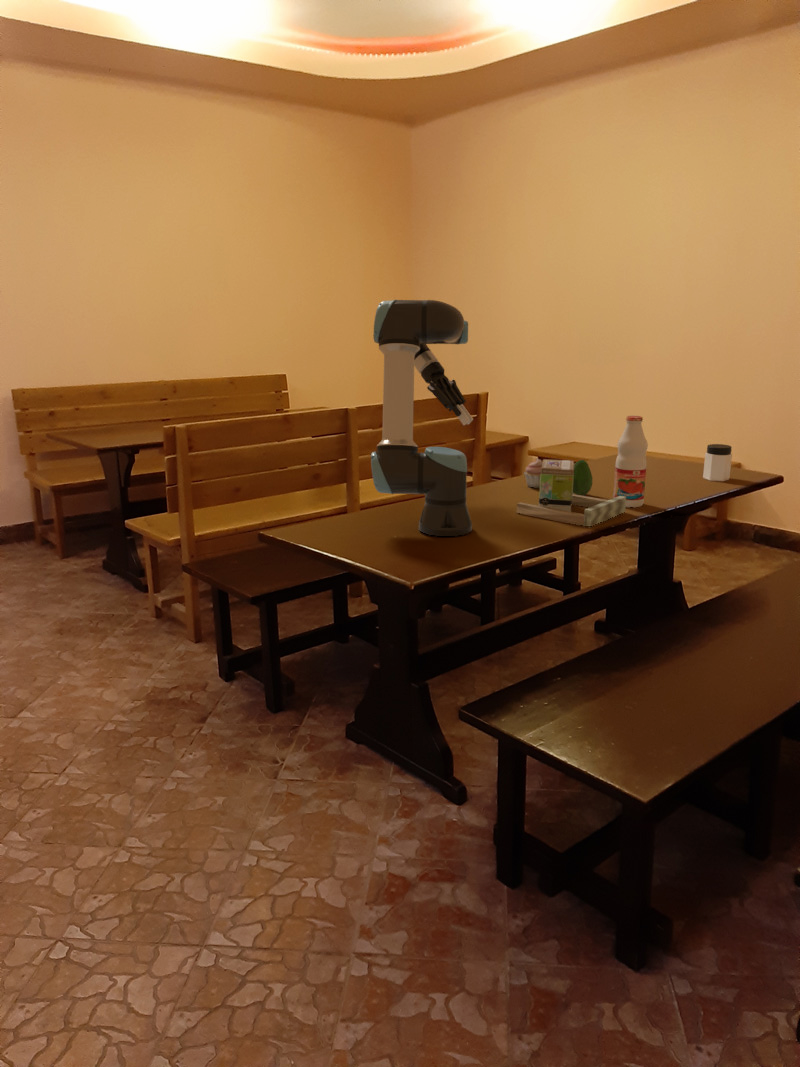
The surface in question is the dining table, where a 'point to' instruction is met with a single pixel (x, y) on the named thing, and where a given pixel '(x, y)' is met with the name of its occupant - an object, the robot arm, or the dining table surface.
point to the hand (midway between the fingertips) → (468, 422)
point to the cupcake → (533, 473)
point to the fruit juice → (631, 463)
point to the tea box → (556, 484)
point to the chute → (592, 515)
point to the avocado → (582, 478)
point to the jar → (717, 462)
